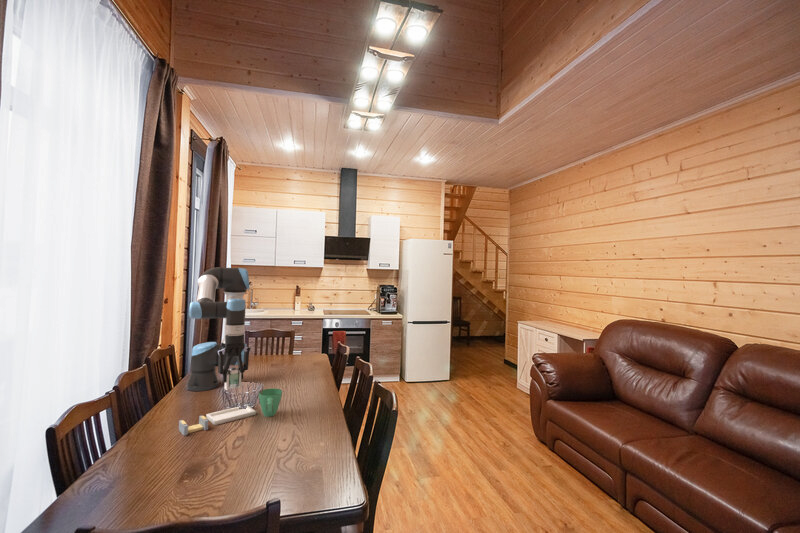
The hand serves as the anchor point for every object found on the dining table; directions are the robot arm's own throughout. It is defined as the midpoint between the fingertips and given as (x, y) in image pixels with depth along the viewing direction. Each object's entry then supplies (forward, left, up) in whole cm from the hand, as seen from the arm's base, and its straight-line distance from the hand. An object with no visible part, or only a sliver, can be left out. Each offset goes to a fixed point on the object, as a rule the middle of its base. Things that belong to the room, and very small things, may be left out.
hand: (232, 388), depth 156 cm
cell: (0, 0, +1) cm, 1 cm away
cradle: (+4, -16, -12) cm, 20 cm away
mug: (+11, +12, -12) cm, 20 cm away
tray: (0, 0, -12) cm, 12 cm away
